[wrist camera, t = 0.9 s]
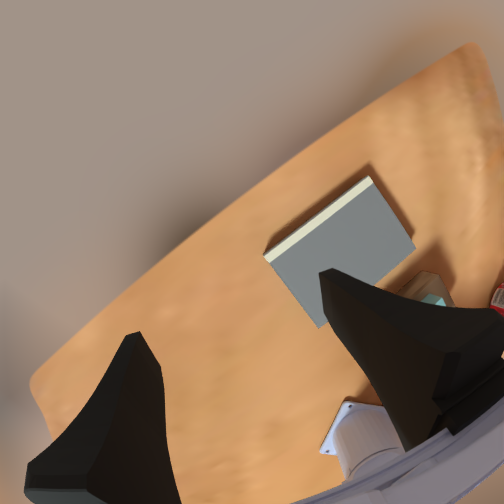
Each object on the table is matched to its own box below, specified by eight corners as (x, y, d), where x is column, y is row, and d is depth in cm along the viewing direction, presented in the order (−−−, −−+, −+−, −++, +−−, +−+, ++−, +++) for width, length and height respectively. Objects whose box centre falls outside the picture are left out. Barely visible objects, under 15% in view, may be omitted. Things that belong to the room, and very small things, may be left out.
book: (361, 178, 31) (368, 175, 29) (407, 247, 32) (416, 248, 30) (262, 254, 32) (263, 255, 30) (314, 323, 32) (318, 328, 30)
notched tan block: (421, 270, 32) (439, 274, 28) (441, 307, 32) (459, 315, 28) (360, 322, 32) (373, 332, 28) (384, 357, 32) (398, 370, 28)
